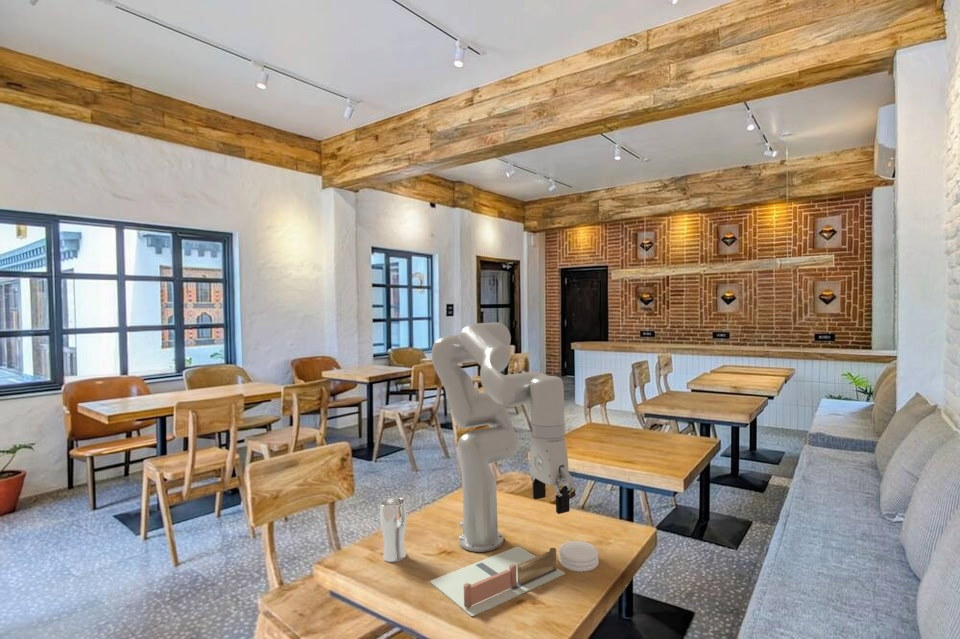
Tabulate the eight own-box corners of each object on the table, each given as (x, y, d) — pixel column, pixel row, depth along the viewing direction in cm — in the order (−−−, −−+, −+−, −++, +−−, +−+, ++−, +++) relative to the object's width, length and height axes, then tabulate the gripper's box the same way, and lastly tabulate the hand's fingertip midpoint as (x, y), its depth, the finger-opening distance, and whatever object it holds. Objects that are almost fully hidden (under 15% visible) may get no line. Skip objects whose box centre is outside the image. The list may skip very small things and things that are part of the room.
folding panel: (513, 582, 124) (513, 563, 124) (518, 585, 122) (517, 566, 122) (462, 605, 115) (462, 585, 115) (466, 608, 114) (466, 588, 114)
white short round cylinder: (552, 558, 137) (551, 544, 137) (584, 550, 141) (584, 537, 140) (572, 576, 128) (572, 562, 127) (606, 567, 131) (606, 553, 131)
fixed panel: (517, 583, 124) (516, 562, 124) (553, 566, 131) (553, 547, 131) (521, 586, 123) (520, 565, 123) (558, 569, 130) (557, 549, 130)
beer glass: (412, 553, 142) (410, 498, 141) (398, 565, 135) (396, 508, 135) (391, 548, 144) (389, 495, 144) (376, 560, 138) (374, 505, 138)
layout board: (429, 582, 127) (429, 580, 127) (518, 547, 143) (518, 545, 143) (472, 617, 112) (472, 615, 112) (564, 573, 128) (564, 572, 128)
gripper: (515, 425, 125) (517, 496, 125) (555, 441, 109) (558, 522, 109) (542, 421, 128) (544, 490, 128) (584, 436, 112) (587, 515, 113)
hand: (550, 505), depth 119 cm, fingers open, 9 cm apart
